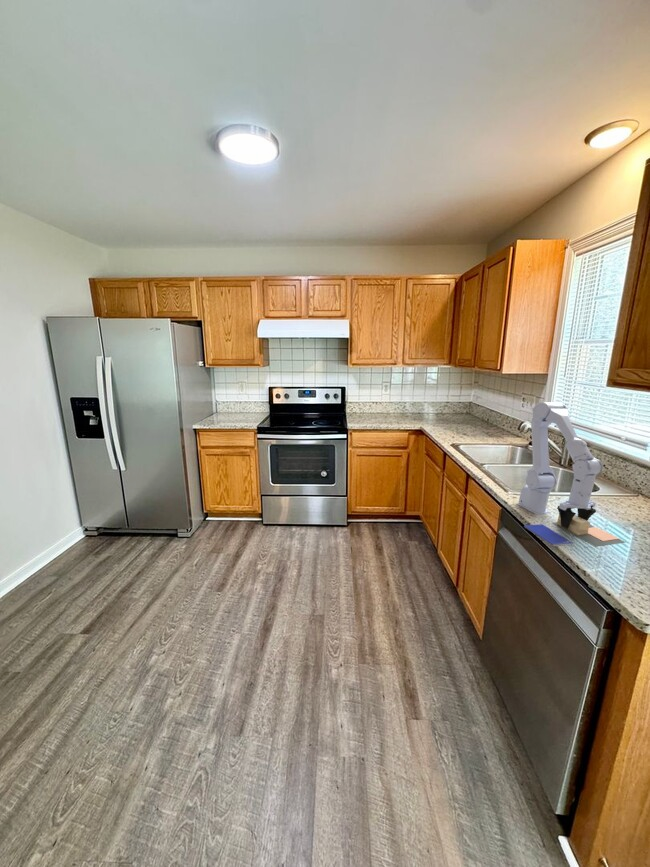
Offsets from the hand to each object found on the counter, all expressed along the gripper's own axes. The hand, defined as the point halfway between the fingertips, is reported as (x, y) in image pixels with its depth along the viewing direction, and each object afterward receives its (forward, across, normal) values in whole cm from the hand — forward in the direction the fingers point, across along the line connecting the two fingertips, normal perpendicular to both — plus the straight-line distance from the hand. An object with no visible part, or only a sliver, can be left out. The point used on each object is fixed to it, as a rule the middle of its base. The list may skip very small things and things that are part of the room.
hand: (572, 526), depth 120 cm
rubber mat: (+1, +4, -3) cm, 5 cm away
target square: (+1, +6, -5) cm, 8 cm away
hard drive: (+2, -14, -2) cm, 14 cm away
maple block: (+1, 0, 0) cm, 1 cm away
